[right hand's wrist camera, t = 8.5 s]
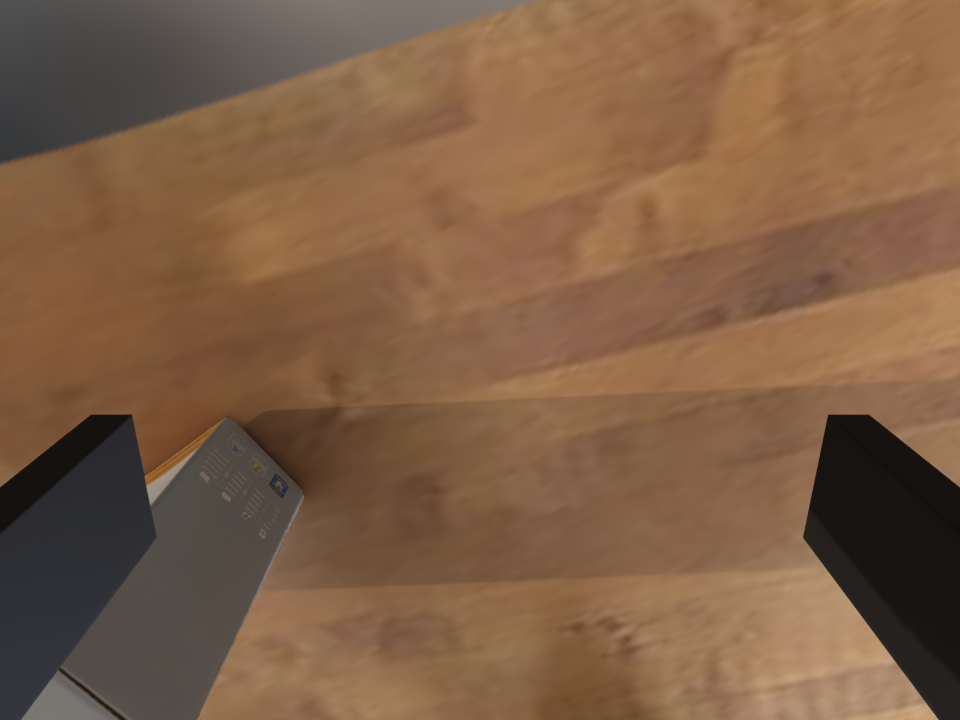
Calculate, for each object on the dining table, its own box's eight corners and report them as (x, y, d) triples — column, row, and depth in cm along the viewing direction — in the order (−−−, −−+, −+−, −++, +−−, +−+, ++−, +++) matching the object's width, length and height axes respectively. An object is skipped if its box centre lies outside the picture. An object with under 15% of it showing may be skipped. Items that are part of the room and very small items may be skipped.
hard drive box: (229, 409, 43) (37, 644, 24) (309, 492, 45) (189, 766, 26) (65, 530, 46) (-215, 820, 28) (147, 602, 48) (-61, 916, 30)
